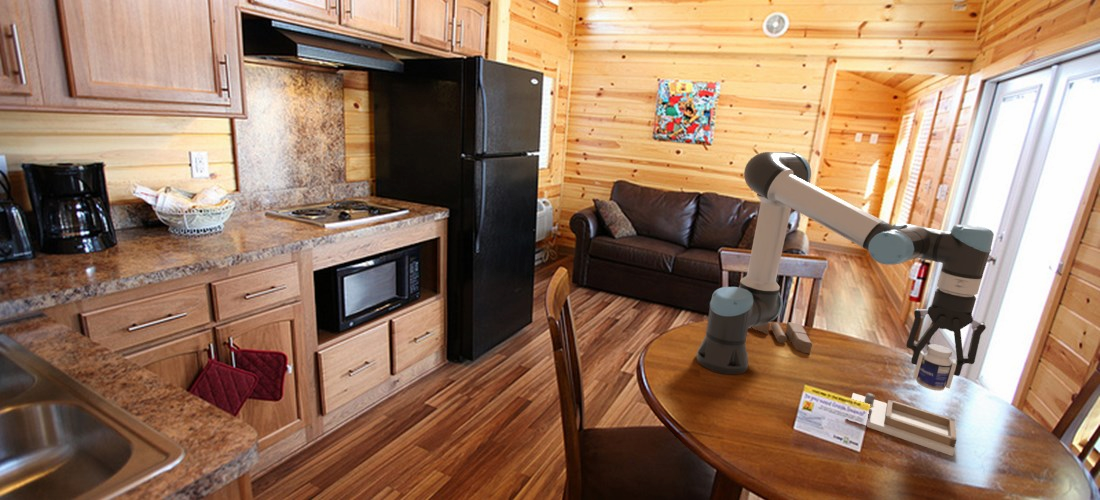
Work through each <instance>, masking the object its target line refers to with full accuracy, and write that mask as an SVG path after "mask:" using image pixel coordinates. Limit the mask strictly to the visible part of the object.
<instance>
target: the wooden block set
mask: <svg viewBox="0 0 1100 500" xmlns="http://www.w3.org/2000/svg"><path fill="white" fill-rule="evenodd" d="M752 328H754V329H756V330H755V331H757V330H758V331H757V332H759V331H760V332H759V333H762V332H763V333H762V334H764V333H765V334H764V335H767V334H768V335H769V331H770V330H769V329H771V331H772V333H773V335H774V337H775V339H776V341H777V342H778V343H779V344H785V343H786V342H787V341H788V340H789V342H790V341H791V342H792V346H793V347H794V349H795V350H796V351H797V352H800V353H802V354H808V355H809V354H811V351H812V348H813V347H812V346H813V343H812V341H811V340H810V338H809V336H808V333H807V331H806V330H805V328H804V327H803V325H802V324H801V323H797V322H792V321H791V322H789V321H788V322H787V325H786V328H785V331H784V330H783V328H782V326H781V324H780V323H779V322H772V323H771V322H768V323H765V324H760V325H757V326H754V327H752ZM752 328H751V329H752ZM754 329H753V330H754ZM786 334H787V335H786ZM791 342H790V343H791Z"/></svg>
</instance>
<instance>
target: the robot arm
mask: <svg viewBox="0 0 1100 500" xmlns="http://www.w3.org/2000/svg"><path fill="white" fill-rule="evenodd" d="M743 178H744V181H745V183H746V185H747V186H748V188H749V189H751V191H752V192H754V193H756V196H757V198H758V199H759V201H760V204H759V205H760V206H759V209H758V210H759V211H758V216H757V221H756V226H755V232H754V235H753V242H752V246H751V252H750V257H749V261H748V267H747V273H746V276H744V277H742V278H741V279H740V281H739V286H724V287H723V286H722V287H720V288H719V287H718V288H717V289H716V290H714V292H713V293H712V296H711V300H710V301H709V311H708V317H707V318H708V319H707V323H706V324H707V325H706V331H705V336H704V338H703V340H702V342H701V343H700V344H699V345H700V346H699V348H698V349H697V352H696V358H695V359H696V361H697V363H699V364H700V366H702V367H704V368H706V369H707V370H709V371H712V372H715V373H718V374H723V375H740V374H744V373H745V372H747V370H748V367H749V357H748V351H747V347H746V341H747V337H748V332H749V331H748V330H749V329H752V328H751V327H754V326H757V325H760V324H765V323H768V322H769V323H771V321H774V320H776V318H777V317H778V316H779V315H780V314H781V312H782V310H783V307H784V305H783V304H784V303H783V302H784V301H783V297H782V296H781V293H780V288H781V287H780V285H779V284H778V282H777V277H778V273H779V268H780V265H781V264H780V262H781V259H782V253H783V249H784V244H785V240H786V235H787V229H788V225H789V221H790V217H791V212H792V210H794V211H796V212H798V213H800V214H801V215H803V216H804V217H807V218H808V219H811V220H812V221H813V222H816V223H818V224H819V225H821V226H822V227H825V228H826V229H828V230H830V231H832V232H834V233H836V234H837V235H839V236H841V237H843V238H845V239H847V240H848V241H850V242H852V243H854V244H856V245H857V246H859V247H861V248H863V249H864V250H866V251H868V253H869V255H870V257H871V258H872V259H873V260H874V261H875V262H877V263H879V264H881V265H887V266H888V265H889V266H890V265H891V266H892V265H893V266H894V265H901V264H903V263H906V262H908V261H910V260H916V259H922V260H927V261H931V262H935V263H942V264H941V265H942V266H941V270H940V271H939V272H940V273H939V277H938V279H937V284H936V286H937V288H936V289H935V291H934V292H935V293H934V296H933V299H932V302H931V305H930V306H929V307H927V309H921V308H918V307H916V308H914V311H913V312H914V313H913V314H914V319H913V322H912V326H911V328H910V331H909V334H908V337H907V340H906V345H905V346H906V348H908V349H909V350H910V349H911V350H912V351H913V353H912V357H911V361H910V362H911V365H915V366H914V371H913V374H912V379H914V380H916V379H917V377H918V373H919V369H920V366H921V362H922V358H923V355H924V351H923V350H924V348H925V347H926V345H927V344H928V342H929V341H930V340H931V339H932V338H933V336H934V334H935V333H936V332H937V331H938V330H939V329H941V330H947V331H950V332H953V335H954V345H955V354H956V359H955V358H954V359H953V358H951V362H952V365H951V368H950V372H949V376H948V379H947V383H946V386H945V388H946V389H951V385H952V382H953V379H954V376H957V377H959V376H960V375H961V372H962V369H963V365H965V364H969V365H973V364H975V362H976V358H977V352H978V349H979V344H980V338H981V335H982V334H983V333H984V331H985V330H986V329H987V327H986V323H985V322H983V321H978V320H976V319H974V317H973V310H974V308H975V305H976V304H975V303H976V302H977V301H976V300H977V298H976V296H977V295H978V293H979V290H980V286H981V282H982V279H983V277H984V273H985V269H986V266H987V263H988V259H989V256H990V254H991V252H992V246H993V244H992V243H993V239H994V232H993V231H992V230H991V229H989V228H987V227H982V226H979V225H970V224H955V225H953V226H952V229H951V230H941V229H935V228H930V227H925V226H919V225H915V224H913V223H900V222H899V223H898V222H897V223H895V224H893V225H892V224H890V223H888V222H886V221H885V220H883V219H881V218H878V217H876V216H875V215H872V214H871V213H869V212H867V211H865V210H863V209H861V208H860V207H856V206H854V205H853V204H851V203H849V202H847V201H845V200H843V199H841V198H839V197H837V196H835V195H834V194H831V192H830V193H829V192H828V191H826V190H823V189H821V188H819V187H818V186H816V185H813V184H811V183H810V181H811V178H812V168H811V165H810V163H809V162H808V160H807V159H806V158H805V157H804V156H802V155H800V154H798V153H796V152H795V153H794V152H790V151H779V152H778V151H776V152H775V151H774V152H773V151H765V152H760V153H757V154H756V155H754V156H753V157H751V158H750V160H748V162H747V163H746V165H745V167H744V171H743ZM926 315H927V316H929V318H930V320H931V324H930V325H929V327H928V328H927V330H926V331H925V332H924V334H923V335H922V336H921V337H920V338H919V340H918V342H917V343H915V340H916V337H917V335H918V331H919V329H920V325H921V322H922V319H925V317H926ZM970 324H971V329H972V333H971V337H970V339H971V340H970V343H969V346H968V352H967V356H964V350H963V342H962V333H961V329H964V328H965V327H967V326H968V325H970Z"/></svg>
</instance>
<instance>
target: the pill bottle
mask: <svg viewBox="0 0 1100 500" xmlns="http://www.w3.org/2000/svg"><path fill="white" fill-rule="evenodd" d="M926 350H927V352H925V353H923V358H922V362H921V366H920V369H919V373H918V377H917V379H915V380H916V383H917V384H918V385H920V386H921V387H923V388H925V389H928V390H931V391H937V392H939V391H941V392H942V391H944V390H945V388H946V383H947V379H948V376H949V372H950V368H951V365H952V359H950V358H951V357H952V354H953V351H952V349H951V348H949V347H946V346H945V345H944V346H943V345H940V344H935V343H934V344H933V343H931V344H928V345H927V348H926Z"/></svg>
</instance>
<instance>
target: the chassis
mask: <svg viewBox="0 0 1100 500" xmlns="http://www.w3.org/2000/svg"><path fill="white" fill-rule="evenodd" d="M875 397H876V396H875V394H873V393H870V392H867V393H865V396H864V395H862V394H858V393H855V392H853V393H852V395H851V399H854V400H857V401H861V402H864V403H868V404H870V406H871V408H870V409H869V414H868V420H867V428H869V429H873V430H874V431H875V430H876V431H879V432H881V433H884V434H887V435H890V436H892V437H896V438H899V439H902V440H905V441H906V442H910V443H913V444H916V445H919V446H922V447H924V448H928V449H930V450H934V451H936V452H939V453H942V454H945V455H949V456H951V457H954V455H955V446H956V443H957V440H958V439H957V433H956V431H957V430H956V423H955V422H956V421H955V419H953V418H950V417H947V416H944V415H940V414H938V413H934V412H933V411H932V412H931V411H927V410H925V409H921V408H919V407H915V406H912V405H908V404H905V403H902V402H899V401H896V400H892V399H890V398H888V400H887V401H886V402H887V403H886V402H884V401H880V400H877V399H875ZM851 399H850V400H851Z"/></svg>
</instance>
